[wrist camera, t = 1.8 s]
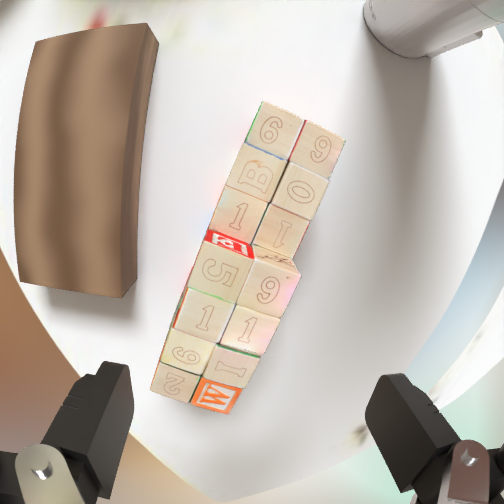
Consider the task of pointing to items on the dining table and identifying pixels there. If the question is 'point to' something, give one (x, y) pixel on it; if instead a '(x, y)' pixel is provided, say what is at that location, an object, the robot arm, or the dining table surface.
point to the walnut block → (82, 159)
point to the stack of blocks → (246, 261)
